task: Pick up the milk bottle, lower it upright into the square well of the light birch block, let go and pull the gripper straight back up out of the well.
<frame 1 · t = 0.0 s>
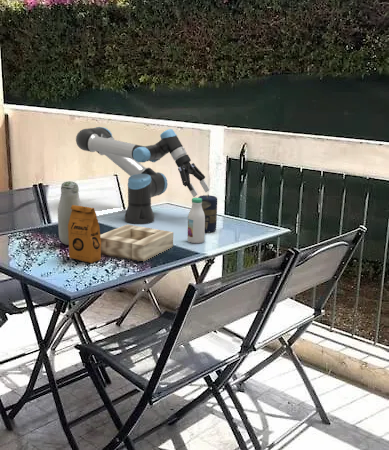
hand: (202, 193, 288), 15 cm above the table, tool tilted 35°, fingers open, 13 cm apart
milk bottle: (195, 241, 259), on the table
coffee package: (85, 259, 230), on the table
glass bottle: (71, 245, 249), on the table
well block: (134, 250, 244), on the table
canister: (206, 231, 277), on the table
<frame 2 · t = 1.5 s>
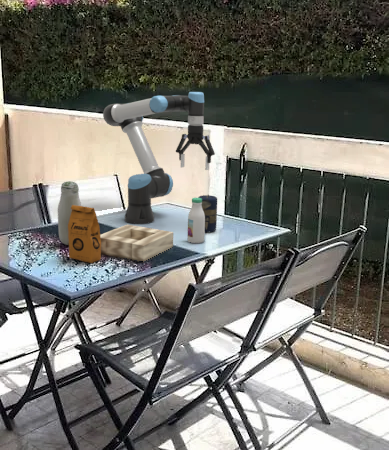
hand: (194, 168, 280), 29 cm above the table, tool pointing down, fingers open, 13 cm apart
nothing on the table moved.
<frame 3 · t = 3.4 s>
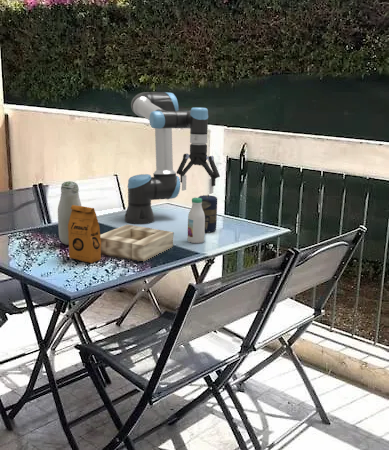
hand: (197, 191, 253), 23 cm above the table, tool pointing down, fingers open, 13 cm apart
nothing on the table moved.
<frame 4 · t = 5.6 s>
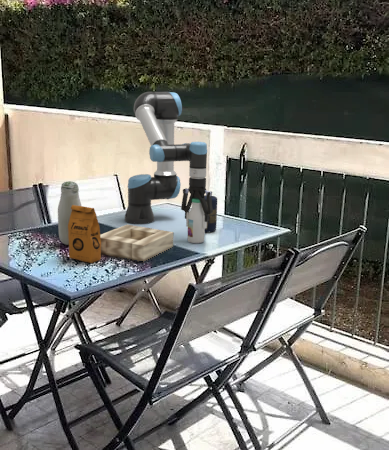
hand: (196, 227, 257), 7 cm above the table, tool pointing down, fingers closed on milk bottle, 7 cm apart
milk bottle: (195, 241, 259), on the table, touching gripper
everything else where it was.
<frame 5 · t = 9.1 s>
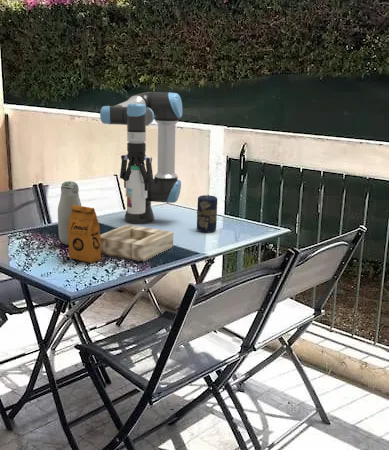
hand: (136, 196, 238), 23 cm above the table, tool pointing down, fingers closed on milk bottle, 7 cm apart
milk bottle: (136, 212, 240), point 16 cm above the table, touching gripper
everything else where it was.
when the fingers open (9 cm above the table, at t = 12.7 s): milk bottle drops 1 cm, resting on well block.
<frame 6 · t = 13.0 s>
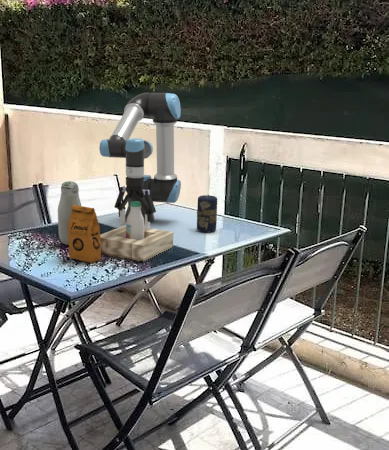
hand: (134, 226, 241), 10 cm above the table, tool pointing down, fingers open, 12 cm apart
milk bottle: (134, 248, 243), point 1 cm above the table, touching well block
everything else where it was.
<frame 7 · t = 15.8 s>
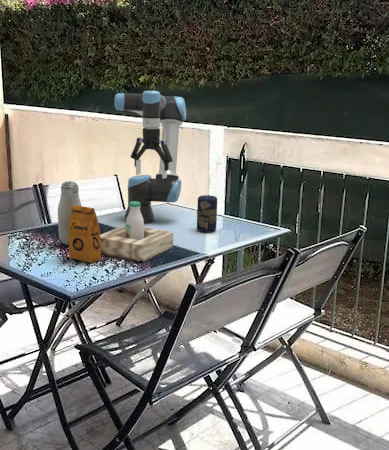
hand: (151, 176, 251), 30 cm above the table, tool pointing down, fingers open, 13 cm apart
nothing on the table moved.
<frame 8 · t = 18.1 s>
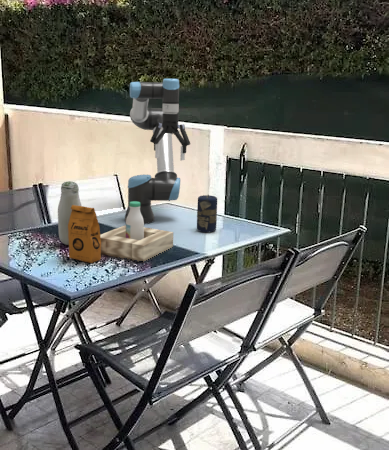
hand: (169, 159, 268), 35 cm above the table, tool pointing down, fingers open, 13 cm apart
nothing on the table moved.
at the end: milk bottle inside the target area on the well block (0.1 cm from its centre), point 0.8 cm above the well block's base; milk bottle tilted 0°; the gripper is holding nothing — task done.
